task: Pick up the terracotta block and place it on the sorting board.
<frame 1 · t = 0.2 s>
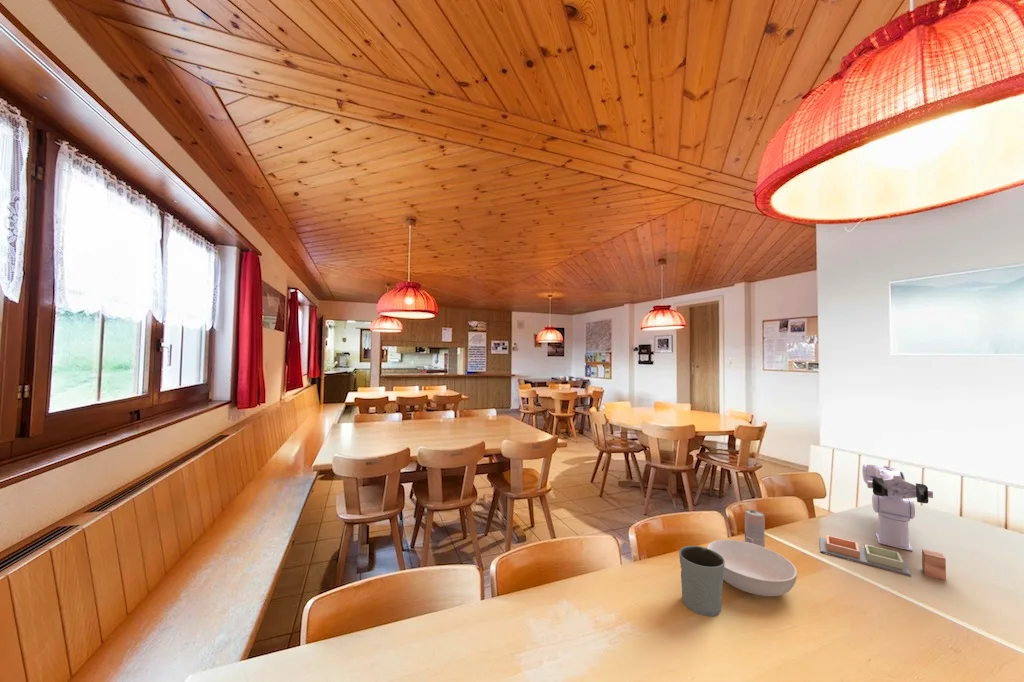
hand: (903, 495, 114), 21 cm above the table, tool horizontal, fingers open, 7 cm apart
serving bowl: (749, 584, 103), on the table
terracotta block: (933, 574, 109), on the table
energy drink: (754, 551, 121), on the table
sorting board: (861, 555, 119), on the table
grey cup: (701, 606, 93), on the table
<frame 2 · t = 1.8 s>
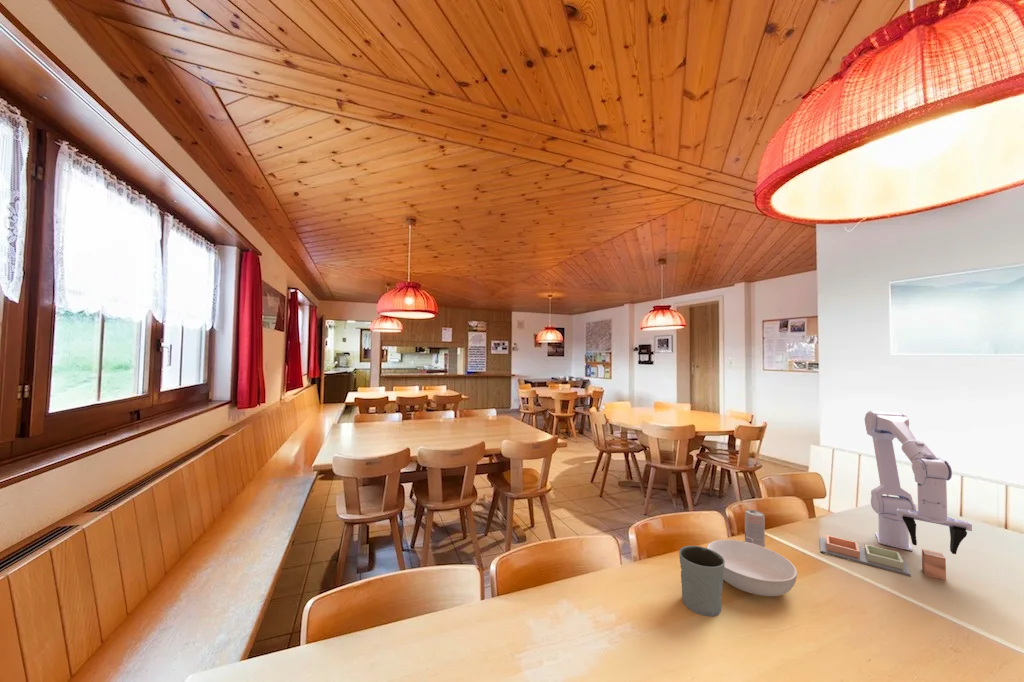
hand: (933, 548, 110), 7 cm above the table, tool pointing down, fingers open, 7 cm apart
nothing on the table moved.
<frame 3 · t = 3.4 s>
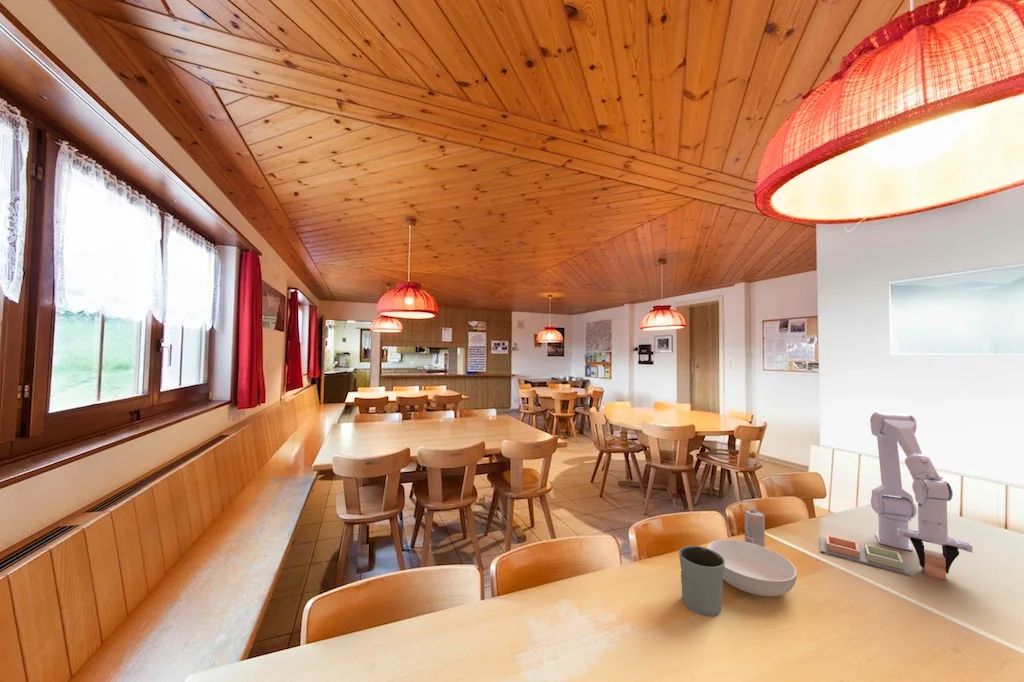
hand: (933, 568, 109), 2 cm above the table, tool pointing down, fingers closed on terracotta block, 4 cm apart
terracotta block: (933, 574, 109), on the table, touching gripper
everything else where it was.
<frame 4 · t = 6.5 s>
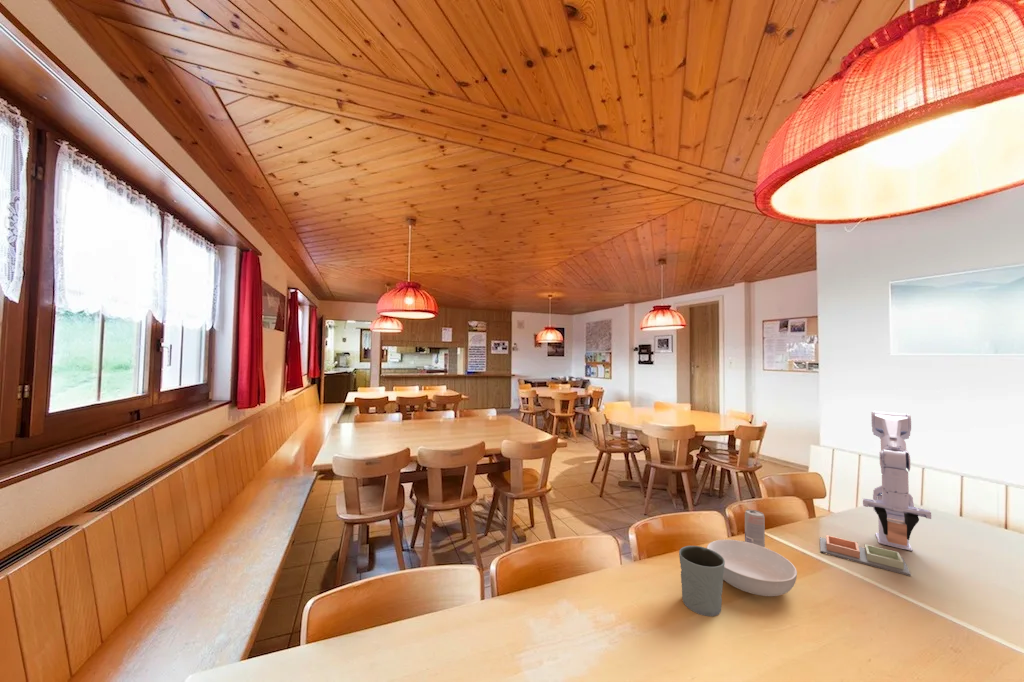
hand: (896, 535, 115), 9 cm above the table, tool pointing down, fingers closed on terracotta block, 4 cm apart
terracotta block: (896, 541, 114), point 7 cm above the table, touching gripper
everything else where it was.
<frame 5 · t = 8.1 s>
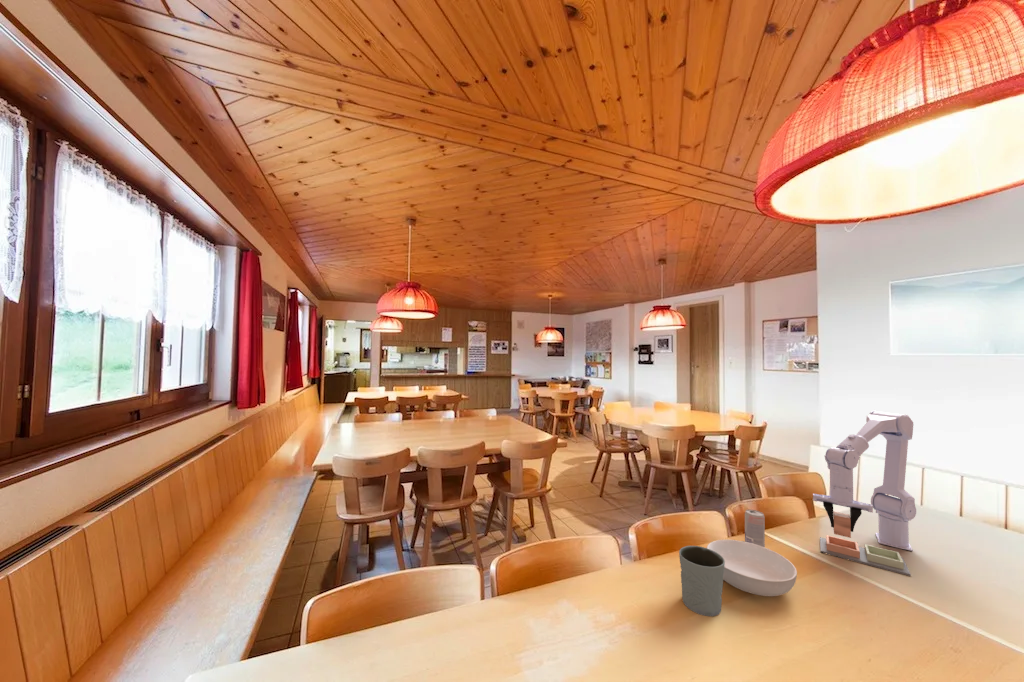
hand: (841, 528, 122), 7 cm above the table, tool pointing down, fingers closed on terracotta block, 4 cm apart
terracotta block: (842, 533, 122), point 6 cm above the table, touching gripper
everything else where it was.
when the fingers open (4 cm above the table, at t = 9.6 s): terracotta block drops 1 cm, resting on sorting board.
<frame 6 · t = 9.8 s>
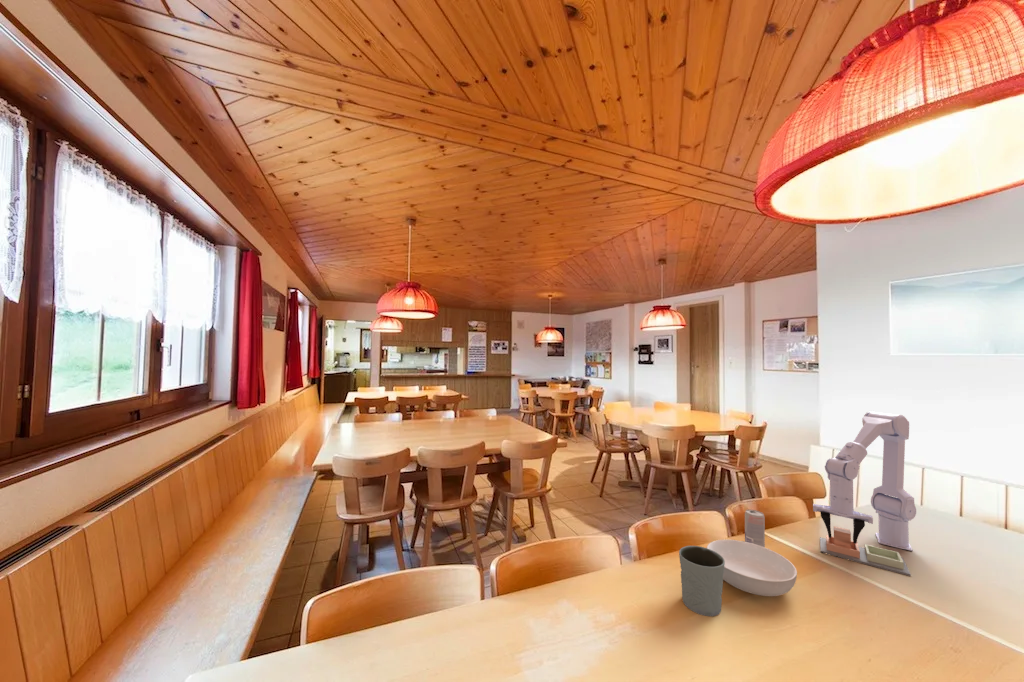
hand: (842, 539, 122), 4 cm above the table, tool pointing down, fingers open, 5 cm apart
terracotta block: (842, 548, 122), point 1 cm above the table, touching sorting board
everything else where it was.
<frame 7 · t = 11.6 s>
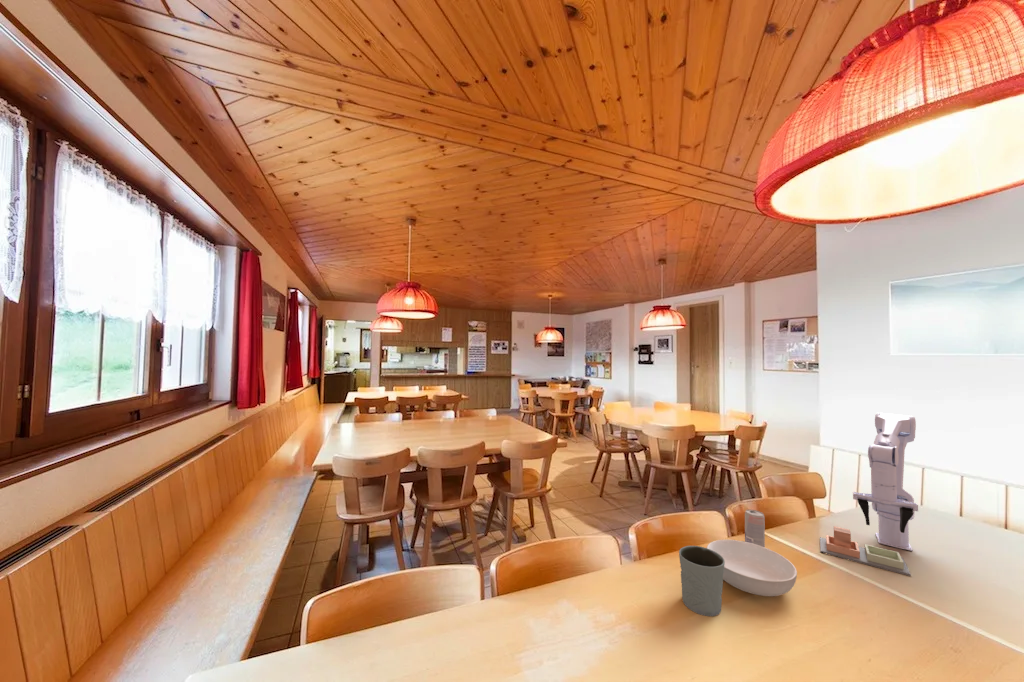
hand: (884, 527, 119), 9 cm above the table, tool pointing down, fingers open, 7 cm apart
nothing on the table moved.
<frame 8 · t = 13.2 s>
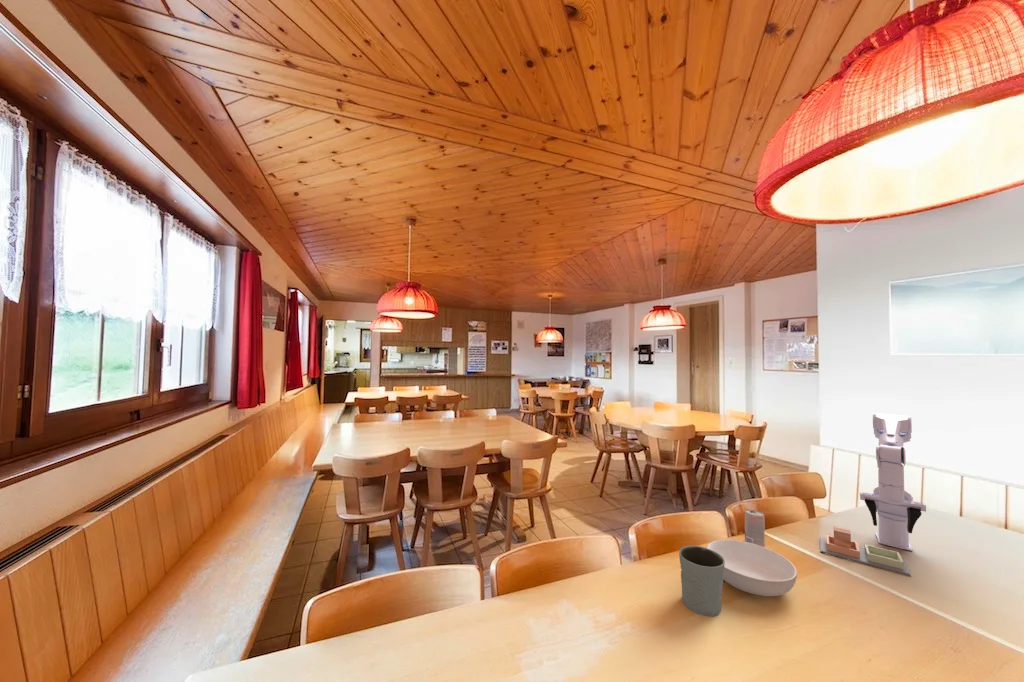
hand: (892, 528, 118), 9 cm above the table, tool pointing down, fingers open, 7 cm apart
nothing on the table moved.
at the end: terracotta block 0.1 cm from the target spot on the sorting board, point 0.7 cm above the sorting board's base; terracotta block tilted 0°; the gripper is holding nothing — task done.
